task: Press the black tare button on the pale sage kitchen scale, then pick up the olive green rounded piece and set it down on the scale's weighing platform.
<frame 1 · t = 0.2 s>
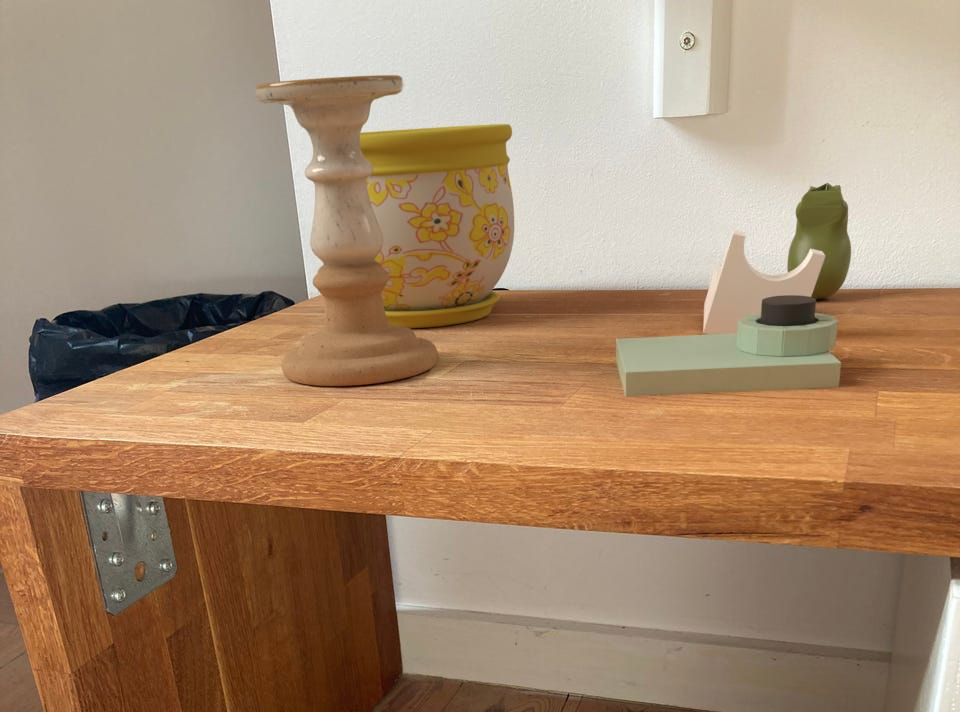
tare button: (787, 312, 71), point 4 cm above the table, slide at 0.1 cm
flowerpot: (427, 318, 101), on the table
olive green rounded piece: (814, 301, 97), on the table
bracket: (756, 329, 87), on the table
scale: (719, 373, 73), on the table
candle holder: (361, 371, 82), on the table
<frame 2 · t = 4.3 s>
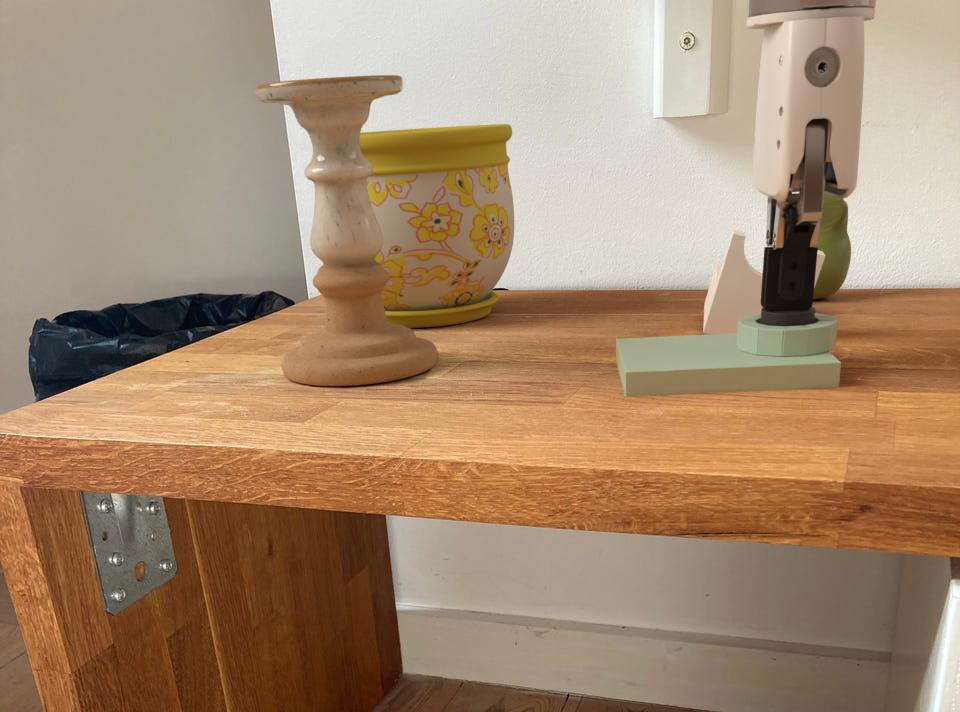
hand: (785, 308, 71), 4 cm above the table, tool pointing down, fingers closed
tare button: (787, 321, 71), point 3 cm above the table, slide at -0.5 cm, touching gripper
everything else where it was.
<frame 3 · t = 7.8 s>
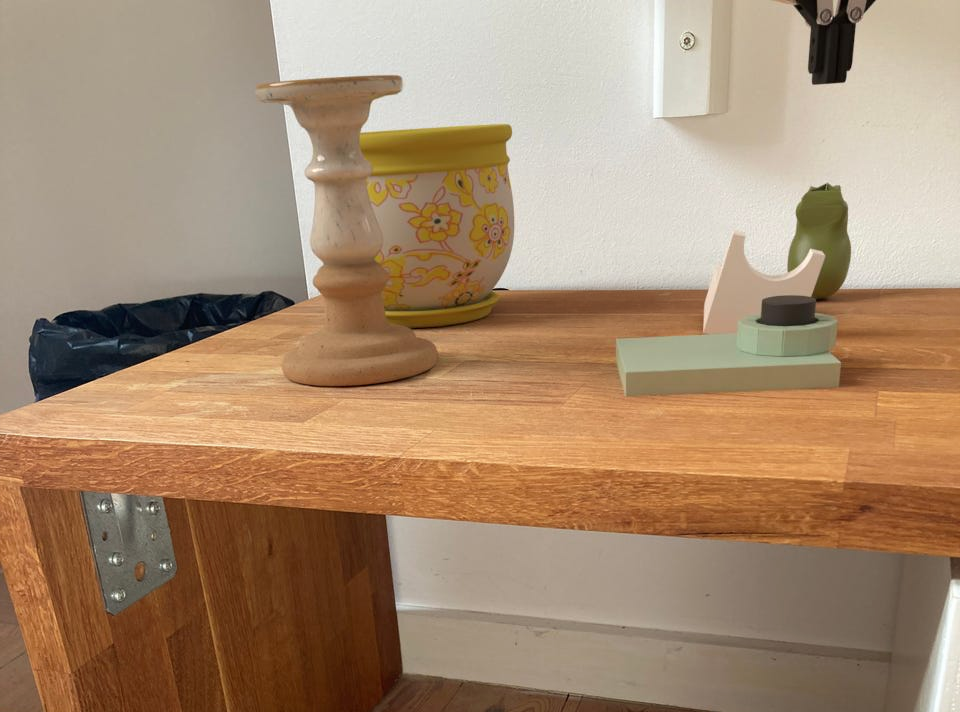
hand: (828, 83, 82), 18 cm above the table, tool pointing down, fingers closed
tare button: (787, 312, 71), point 4 cm above the table, slide at 0.1 cm
everything else where it was.
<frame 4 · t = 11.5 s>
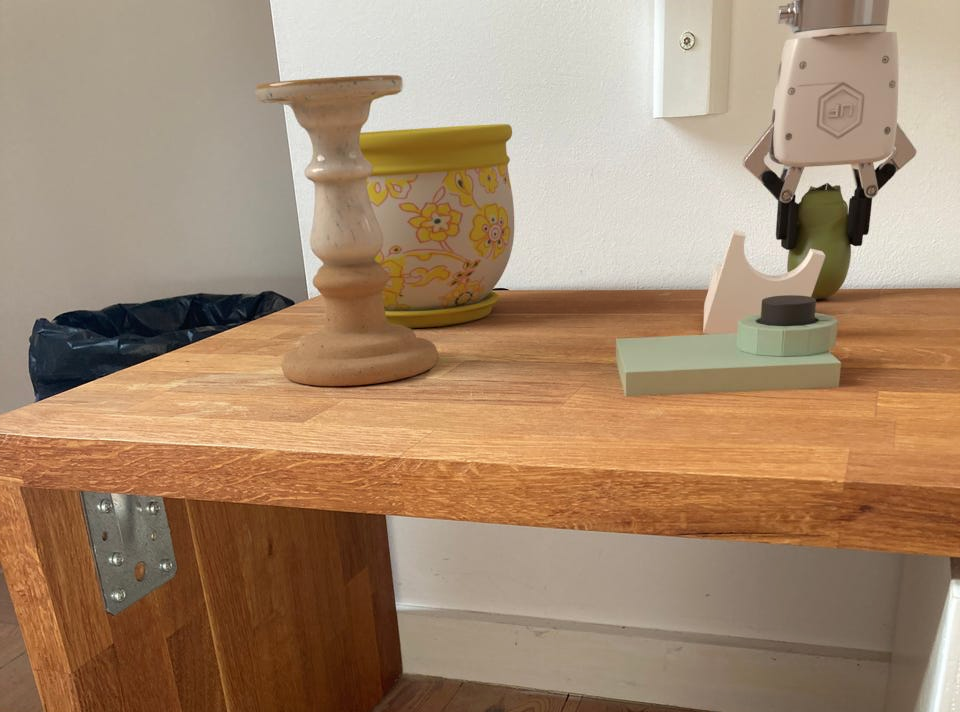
hand: (820, 244, 95), 5 cm above the table, tool pointing down, fingers closed on olive green rounded piece, 5 cm apart
olive green rounded piece: (814, 301, 97), on the table, touching gripper
everything else where it was.
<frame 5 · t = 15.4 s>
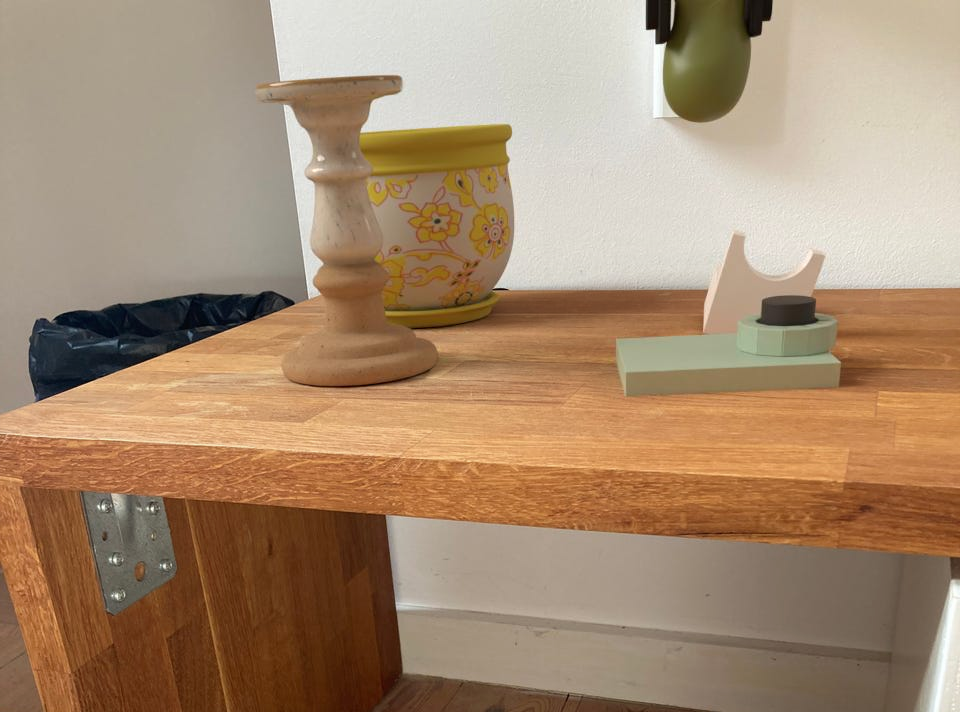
hand: (707, 36, 66), 21 cm above the table, tool pointing down, fingers closed on olive green rounded piece, 5 cm apart
olive green rounded piece: (701, 125, 69), point 16 cm above the table, touching gripper
everything else where it was.
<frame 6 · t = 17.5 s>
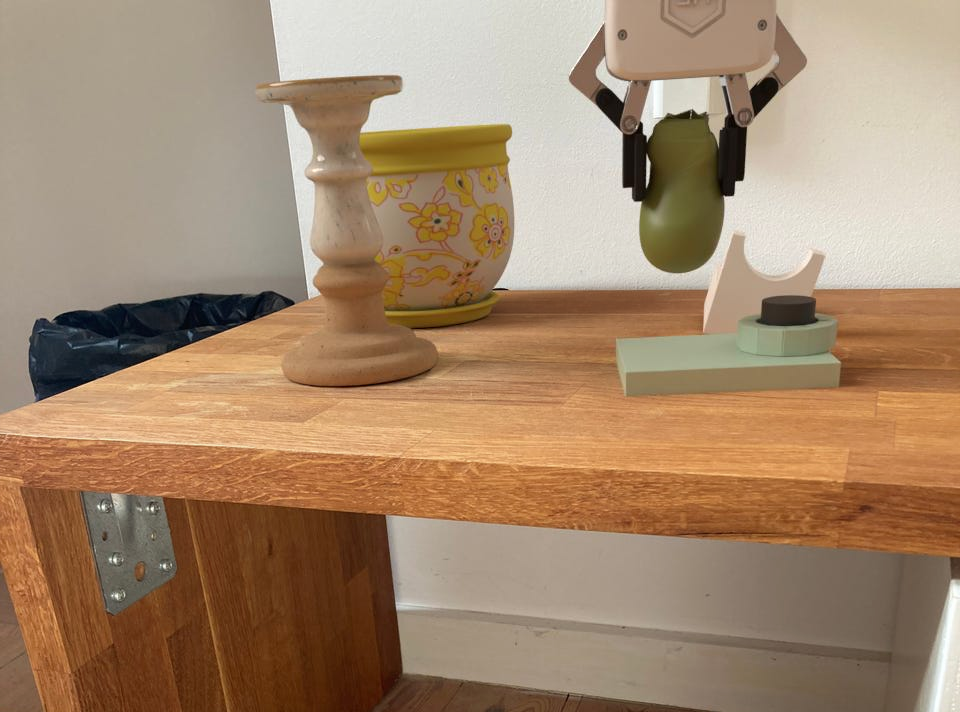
hand: (682, 194, 68), 12 cm above the table, tool pointing down, fingers closed on olive green rounded piece, 5 cm apart
olive green rounded piece: (677, 276, 70), point 7 cm above the table, touching gripper
everything else where it was.
when the fingers open (7 cm above the table, at t = 19.4 s): olive green rounded piece stays where it is, resting on scale.
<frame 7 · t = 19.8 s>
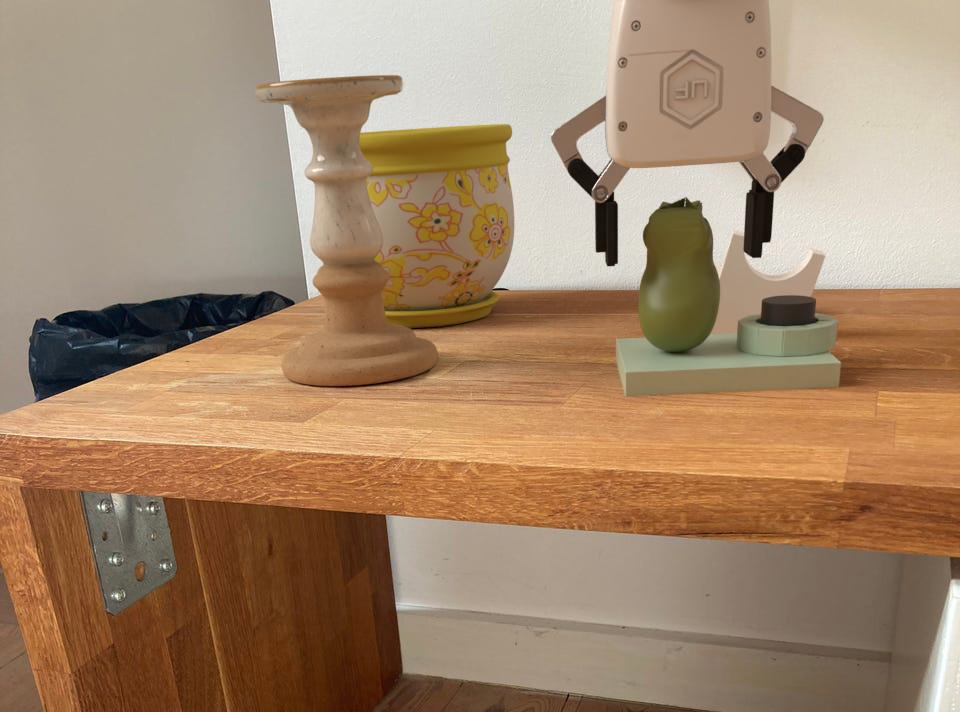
hand: (681, 259, 70), 8 cm above the table, tool pointing down, fingers open, 9 cm apart
olive green rounded piece: (676, 353, 73), point 2 cm above the table, touching scale
everything else where it was.
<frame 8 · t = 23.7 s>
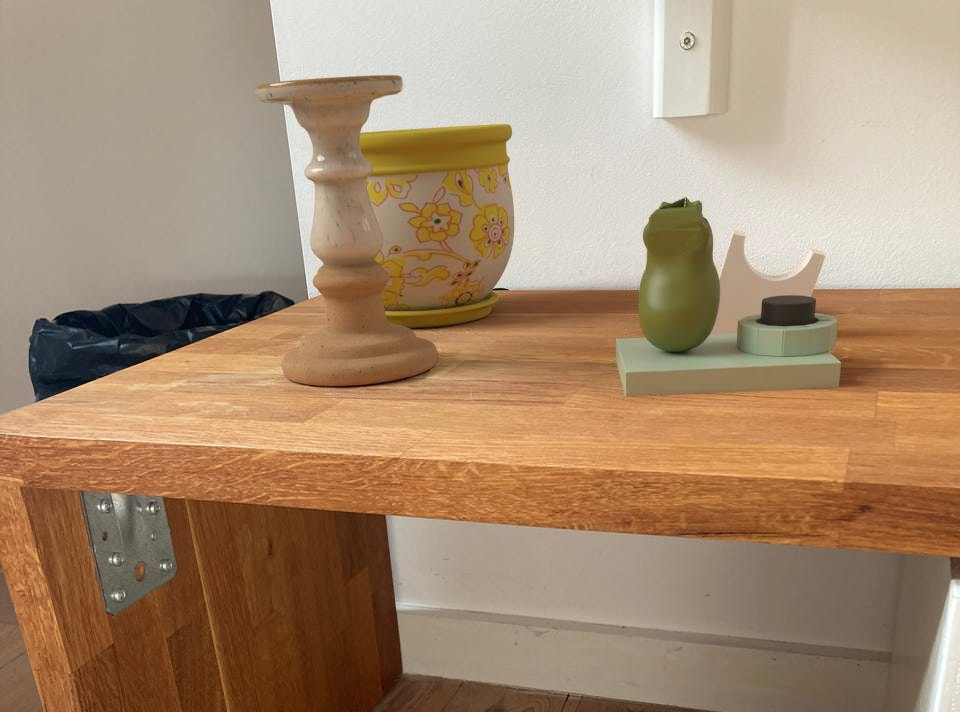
nothing on the table moved.
at the end: tare button pushed in 1.1 cm at the most during the clip, back to where it started at the end; tare button slide at 0.1 cm; olive green rounded piece inside the target area on the scale (0.3 cm from its centre), point 1.5 cm above the scale's base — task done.
